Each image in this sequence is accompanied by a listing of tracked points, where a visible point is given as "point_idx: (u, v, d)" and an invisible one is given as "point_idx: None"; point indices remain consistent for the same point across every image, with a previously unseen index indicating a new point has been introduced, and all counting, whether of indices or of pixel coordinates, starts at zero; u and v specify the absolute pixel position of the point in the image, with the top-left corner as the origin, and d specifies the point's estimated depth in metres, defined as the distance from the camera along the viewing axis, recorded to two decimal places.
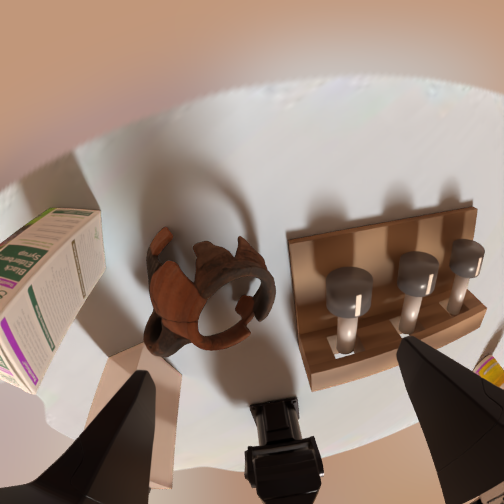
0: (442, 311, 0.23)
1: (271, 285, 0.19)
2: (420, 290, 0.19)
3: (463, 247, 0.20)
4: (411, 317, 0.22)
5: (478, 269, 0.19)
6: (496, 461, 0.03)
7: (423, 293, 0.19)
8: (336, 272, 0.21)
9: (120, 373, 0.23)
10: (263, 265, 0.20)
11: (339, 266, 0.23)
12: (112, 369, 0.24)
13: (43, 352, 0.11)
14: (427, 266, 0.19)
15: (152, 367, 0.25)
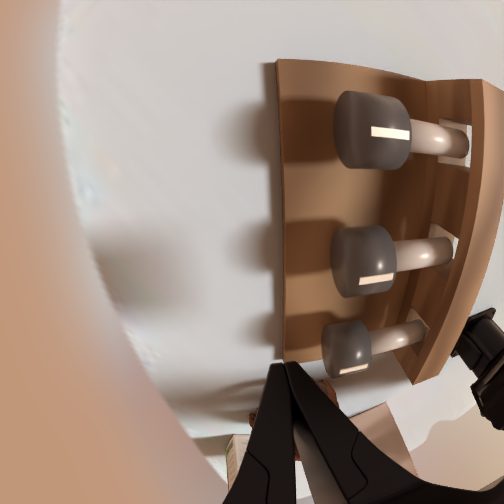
0: (453, 177, 0.12)
1: None
2: (380, 288, 0.13)
3: (346, 143, 0.12)
4: (427, 264, 0.14)
5: (397, 130, 0.09)
6: None
7: (388, 283, 0.13)
8: (322, 344, 0.19)
9: None
10: None
11: (323, 325, 0.20)
12: None
13: None
14: (349, 268, 0.13)
15: (359, 429, 0.27)
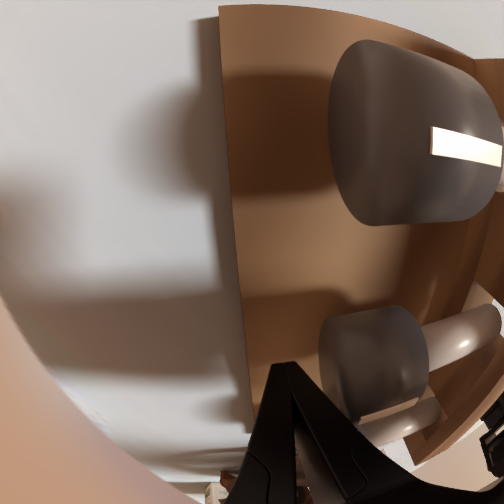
0: None
1: None
2: (393, 413, 0.07)
3: (355, 163, 0.05)
4: (465, 354, 0.07)
5: (482, 142, 0.03)
6: None
7: (406, 408, 0.06)
8: None
9: None
10: None
11: None
12: None
13: None
14: (345, 394, 0.07)
15: None
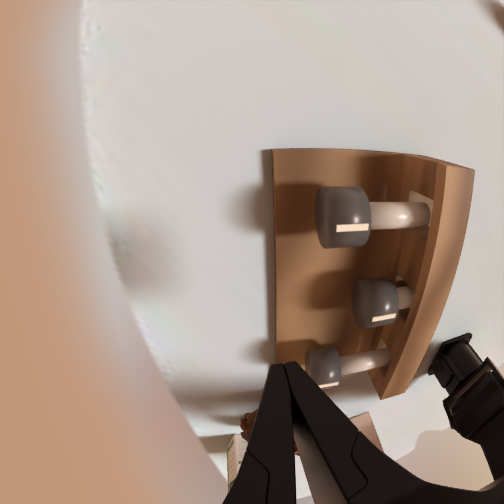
0: (414, 242, 0.17)
1: None
2: (386, 322, 0.18)
3: (321, 227, 0.17)
4: None
5: (358, 224, 0.14)
6: None
7: (392, 319, 0.18)
8: (305, 364, 0.24)
9: None
10: None
11: (307, 349, 0.25)
12: None
13: None
14: (365, 310, 0.18)
15: None
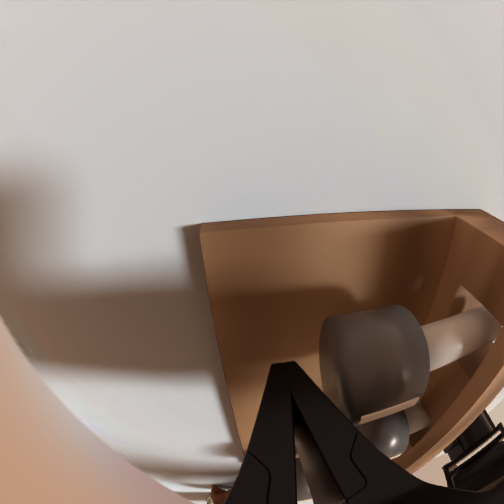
0: (450, 367, 0.09)
1: None
2: None
3: (330, 381, 0.08)
4: None
5: (401, 404, 0.06)
6: None
7: (394, 457, 0.10)
8: None
9: None
10: None
11: None
12: None
13: None
14: None
15: None
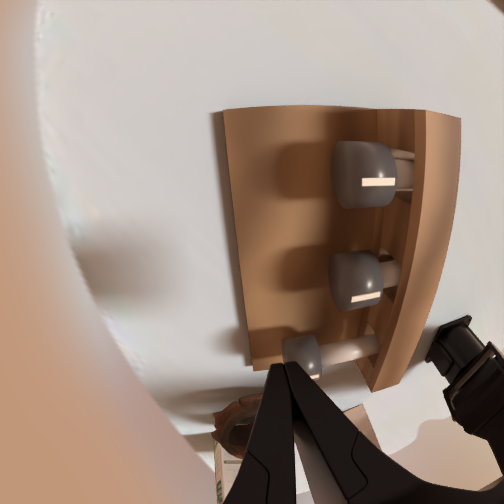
0: (397, 207, 0.15)
1: (244, 415, 0.23)
2: (370, 303, 0.16)
3: (341, 186, 0.14)
4: None
5: (384, 178, 0.12)
6: None
7: (376, 299, 0.16)
8: (282, 354, 0.22)
9: None
10: (234, 408, 0.24)
11: (284, 337, 0.22)
12: None
13: None
14: (343, 288, 0.16)
15: None
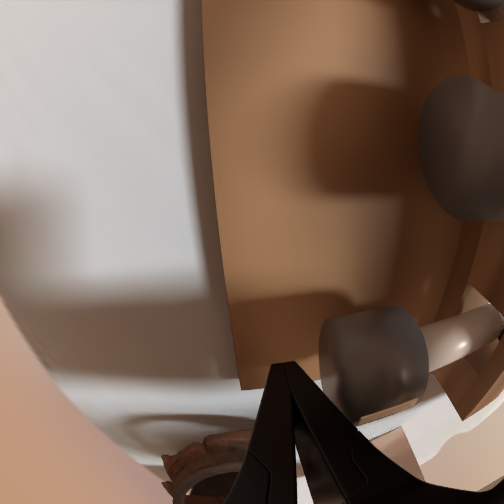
0: None
1: (211, 471, 0.10)
2: None
3: None
4: None
5: None
6: None
7: None
8: (321, 357, 0.09)
9: None
10: (194, 455, 0.11)
11: (309, 320, 0.10)
12: None
13: None
14: (488, 145, 0.04)
15: None
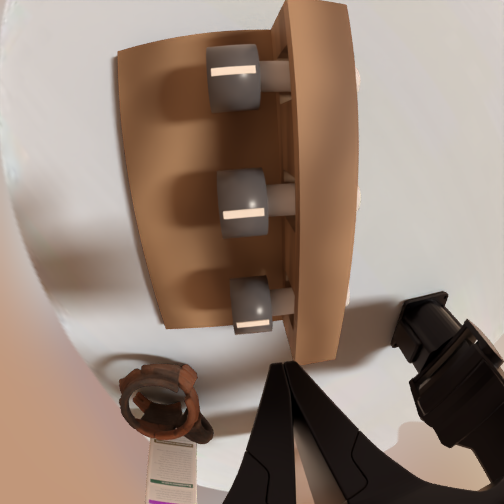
0: (286, 112, 0.13)
1: (140, 383, 0.20)
2: (254, 226, 0.14)
3: None
4: None
5: (240, 67, 0.10)
6: None
7: (261, 219, 0.14)
8: None
9: None
10: (134, 375, 0.22)
11: (190, 286, 0.20)
12: None
13: (185, 493, 0.19)
14: None
15: None
